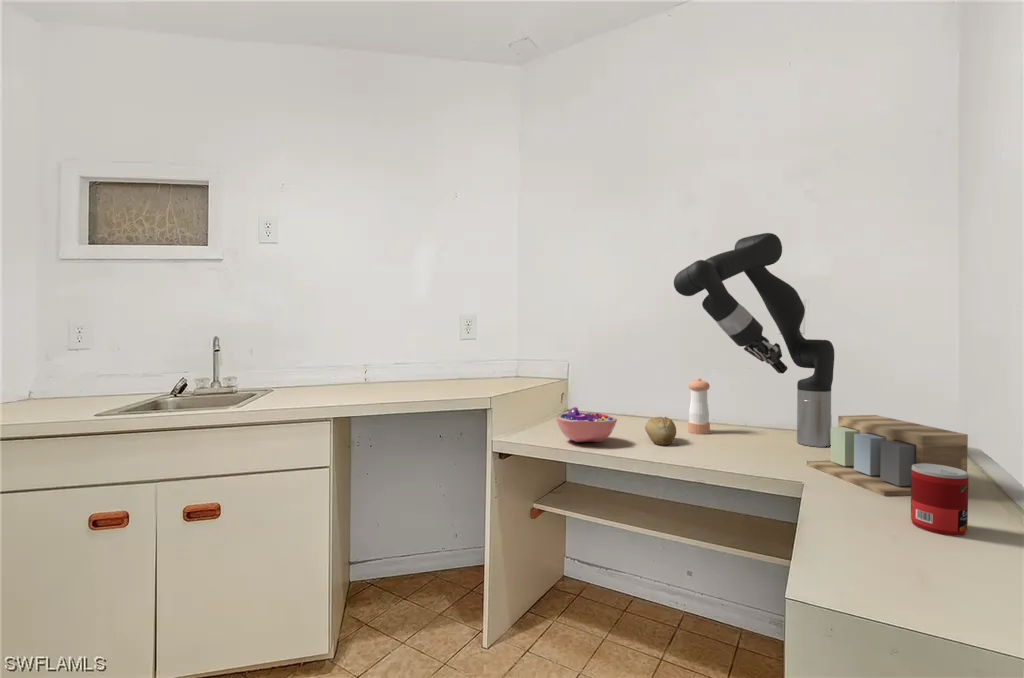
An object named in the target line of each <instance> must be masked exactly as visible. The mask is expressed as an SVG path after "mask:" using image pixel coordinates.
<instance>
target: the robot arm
mask: <svg viewBox="0 0 1024 678" xmlns="http://www.w3.org/2000/svg"><path fill="white" fill-rule="evenodd" d="M733 248H734V249H732V250H728V251H723V252H721V253H718V254H716V255H713V256H710V257H708V258H707V259H705V260H704V259H699V260H696V261H694V262H693V263H691V264H690V265H688V266H686V267H685V268H683V269H682V270H680V271H679V272H678V273H676V275H675V276H674V278H673V288H674V289H675V291H676V292H677V293H678V294H679V295H682V296H684V297H692V296H695V295H696V294H698V293H700V292H702V291H703V290H705V291H707V293H708V295H706V297H704V299H703V301H702V303H701V305H702V309H704V311H705V312H706V313H707V314H708V315H709V316H710V317H711V318H712V319H713V320H714V321H715V322H716V324H717V325H718V326H719V328H721V330H722V331H723V332H724V333H725V334H726V335H727V336H728V337H729V338H730V339H731V340H732V341H733V342H734V343H735V344H736V345H737V347H744V348H743V350H744V351H745V352H746V353H748V354H750V355H751V356H753V357H755V358H756V359H758V360H759V361H760V362H762V363H764V362H765V363H766V364H767V365H769V366H771V367H772V369H774V370H775V371H776V372H777V373H778V374H784V373H785V372H786V371H788V366H787V365H786V364H785V363H784V362H783V361H782V360H781V358H782V357H783V353H782V349H781V346H780V344H779V343H776V342H775V343H774V344H773V343H771V342H770V341H769V339H768V338H767V337H766V336H763V331H764V326H763V325H762V324H761V323H760V322H759V321H758V320H757V319H756V318H755V317H754V316H753V315H752V314H751V313H750V312H749V311H748V309H747V308H745V307H744V306H743V305H742V304H740V303H739V302H738V301H737V299H735V298H734V296H732V295H731V293H729V291H728V289H727V288H726V286H725V284H724V281H725V280H728V279H730V278H733V277H735V276H737V275H739V274H741V273H744V274H745V275H746V277H747V278H748V280H750V282H751V284H753V286H754V288H755V289H756V291H757V292H758V294H759V296H760V297H761V299H762V302H763V303H764V305H765V307H766V310H767V311H768V313H769V315H770V317H771V318H772V319H773V321H774V323H775V324H776V326H777V329H778V331H779V332H780V334H781V337H782V339H783V341H784V343H785V346H786V349H787V351H788V353H789V355H790V359H791V360H792V362H793V363H794V364H795V365H796V366H797V367H799V368H804V369H814V371H813V374H812V375H811V376H808V377H805V378H801V379H799V380H798V381H797V385H796V386H797V390H796V391H797V393H796V398H797V399H796V400H797V402H796V403H797V406H796V407H797V408H796V412H797V413H796V443H797V442H798V444H800V445H803V446H804V445H805V446H809V447H816V448H817V447H818V448H819V447H820V448H824V447H825V448H826V446H827V447H831V446H830V445H831V428H832V384H833V381H834V369H835V368H834V366H835V365H834V364H835V347H834V345H833V343H832V342H831V341H830V340H828V339H811V338H810V339H806V338H805V337H804V336H803V334H802V332H801V330H800V329H801V325H802V323H803V320H804V318H805V313H806V310H805V309H806V307H805V304H804V303H803V301H802V299H801V297H800V295H799V293H798V291H797V290H796V289H795V288H794V287H793V286H792V285H791V284H789V283H787V282H786V281H784V280H783V279H781V278H780V277H778V276H776V275H775V274H773V273H772V272H770V271H769V270H768V268H767V267H768V266H771V265H774V264H776V263H778V261H779V260H780V258H781V256H782V253H783V245H782V241H781V239H780V237H779V236H778V235H776V234H775V233H771V232H764V233H760V234H755V235H748V236H745V237H742V238H740V239H738V240H737V241H736V243H735V245H734V247H733Z"/></svg>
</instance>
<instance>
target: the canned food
mask: <svg viewBox="0 0 1024 678" xmlns="http://www.w3.org/2000/svg"><path fill="white" fill-rule="evenodd" d="M968 509H969V473H968V471H967V472H966V471H964V470H961V469H958V468H954V467H949V466H944V465H937V464H924V463H920V464H913V465H912V468H911V495H910V520H911V522H912V524H913V525H914V526H915V527H916V528H918V529H921V530H924V531H926V532H930V533H934V534H938V535H944V536H952V537H960V536H964V535H965V534H966V533H967V531H968V520H969V519H968V518H969V516H968V515H969V510H968Z"/></svg>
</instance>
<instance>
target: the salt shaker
mask: <svg viewBox="0 0 1024 678" xmlns="http://www.w3.org/2000/svg"><path fill="white" fill-rule="evenodd" d="M688 389H689V390H690V405H689V410H688V421H687V432H688V433H690V434H695V435H696V434H697V435H708V434H710V432H711V431H710V430H711V426H710V425H711V423H710V422H709V420H710V411H709V405H708V390H709V389H710V384H709V382H708V381H705V380H702V378H701V377H698V378H696V380H692V381H690V382H689V383H688Z"/></svg>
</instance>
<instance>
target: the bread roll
mask: <svg viewBox="0 0 1024 678" xmlns="http://www.w3.org/2000/svg"><path fill="white" fill-rule="evenodd" d="M644 430H645V432H646V434H647V436H648V437H649V439H650V440H651V442H653V444H656V445H658V446H667V445H670V444H671V443H672V442H673V441H674V440H675V438H676V436H677V427H676V425H675V422H674V421H673V419H671V418H669V417H667V416H664V417H662V416H655V417H651V418H649V419H648V420H647V421H646V424H645V426H644Z"/></svg>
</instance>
